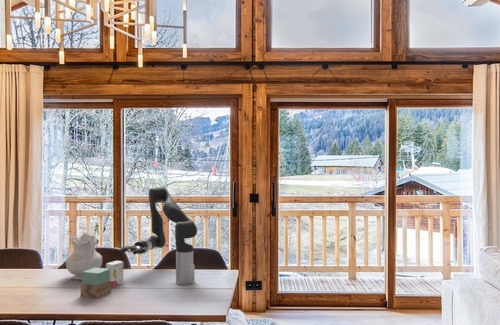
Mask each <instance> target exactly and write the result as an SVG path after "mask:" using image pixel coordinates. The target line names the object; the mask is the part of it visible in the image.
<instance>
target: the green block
mask: <svg viewBox="0 0 500 325" xmlns="http://www.w3.org/2000/svg"><path fill="white" fill-rule="evenodd" d="M81 281H82V283H81V284H84V285H94V286H99V285H101V284H104V283H106V282H108V281H110V269H106V267H105V268H103V267H100V268H92V269H89V270H86V271H84V272H83V273H82V280H81Z"/></svg>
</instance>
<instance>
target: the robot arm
mask: <svg viewBox="0 0 500 325" xmlns="http://www.w3.org/2000/svg"><path fill="white" fill-rule="evenodd" d="M148 202H149V210H150V217H151V233H153V235H151V236H149V237H148V238H146V239H142V240H139V241H136V242H135V243H134V244H133V245H125V246H122V247H121V248H120V249H119V254H123V253H132V254H133V255H141V254H145V253H148V252H149V251H151V250H154V249H155V248H159V249H162V248H164V247H165V245H166V236H165V233H164V220H163V217H162V215H161V214H160V212H159V210H158V209H157V205H156V203H159V202H161V203H162V202H164V204H163V207H162V212H163V214H164V216H165V217H166V218H167V220H169V221H171V222H172V223H175V229H174V233H175V235H174V237H175V284H177V285H181V286H182V285H185V286H186V285H188V286H189V285H191V284H193V283H194V282H195V271H196V270H195V266H196V265H195V264H194V246H193V245H192V244H190V243H187V242H186V239H192V238H195V237H196V236H197V234H198V227H197V225H196V224H195V222H194V221H193V220H192V219H191V218H190V217H189V216H188V215H186V213H184V211H183V209H181V207H180V206H179V204H177V203H176V202H175V200H174V199H173V198H172V196H171V194H170V193H169V191H168V190H167V188H166V187H164V186H158V187H151V188H149V191H148Z"/></svg>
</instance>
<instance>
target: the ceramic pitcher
mask: <svg viewBox="0 0 500 325" xmlns="http://www.w3.org/2000/svg"><path fill="white" fill-rule="evenodd" d="M97 242H98V239H97V237H94V236H93V235H92V234H91V233H90V234H89V233H87V232H86V233H82V235H80V236H77V235H72V237H71V245H72V246H73V252H72V253H71V254H70V255H69V256H68V257H67V258H66V259H65V266H66V269H67V271H68V273H70V274H71V275H73V280H78V281H79V280H81V281H82V273H83V272H84V271H86V270H89V269H92V268H102V265H103V256H102V255H101V253H99V252H98V251H97V250H96V245H97Z"/></svg>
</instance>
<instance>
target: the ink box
mask: <svg viewBox="0 0 500 325" xmlns="http://www.w3.org/2000/svg"><path fill="white" fill-rule="evenodd" d="M105 269H110V281H111V288H114V287H115V286H116V287H117V286H118V285H121V284H123V283H124V261H121V260H114V261H110V262H107V263H106V264H105Z"/></svg>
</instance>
